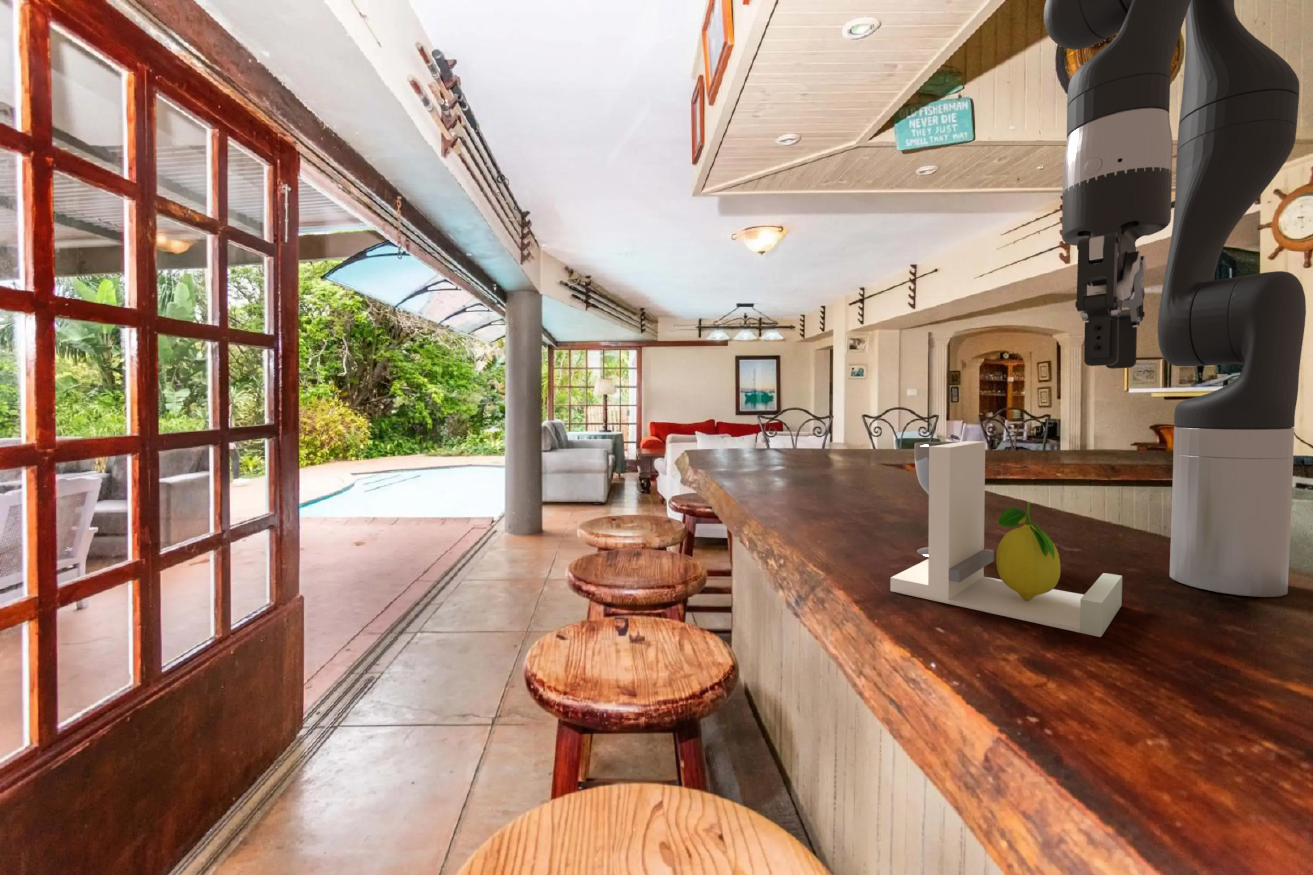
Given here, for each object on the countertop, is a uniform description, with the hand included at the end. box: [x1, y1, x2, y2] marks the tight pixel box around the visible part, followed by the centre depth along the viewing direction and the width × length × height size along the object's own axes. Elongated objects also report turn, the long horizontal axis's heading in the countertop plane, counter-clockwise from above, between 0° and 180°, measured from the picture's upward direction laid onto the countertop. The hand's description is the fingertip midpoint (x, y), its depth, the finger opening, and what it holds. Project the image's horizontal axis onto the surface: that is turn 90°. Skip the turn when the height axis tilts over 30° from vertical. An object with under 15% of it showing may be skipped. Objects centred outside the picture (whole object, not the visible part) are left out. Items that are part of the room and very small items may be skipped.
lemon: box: [995, 501, 1061, 600], centre depth 59 cm, size 7×6×10 cm
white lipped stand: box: [889, 440, 1123, 638], centre depth 60 cm, size 11×18×16 cm, turn 44°
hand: (1111, 366), depth 52 cm, fingers open, 8 cm apart
